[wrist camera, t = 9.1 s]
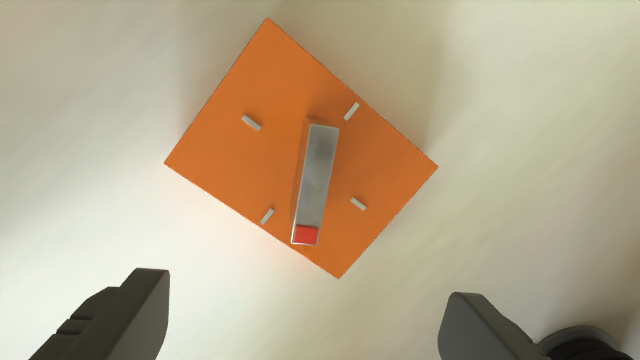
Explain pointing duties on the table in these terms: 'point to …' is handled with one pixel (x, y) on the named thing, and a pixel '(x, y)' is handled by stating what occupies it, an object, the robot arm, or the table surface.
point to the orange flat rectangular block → (283, 147)
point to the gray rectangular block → (312, 179)
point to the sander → (582, 345)
